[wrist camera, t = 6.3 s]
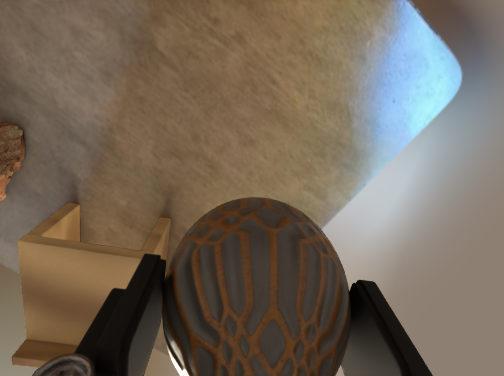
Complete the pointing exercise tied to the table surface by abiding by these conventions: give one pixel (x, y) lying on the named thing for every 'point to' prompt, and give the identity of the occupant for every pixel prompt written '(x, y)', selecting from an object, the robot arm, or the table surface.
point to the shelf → (70, 282)
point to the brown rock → (10, 153)
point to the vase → (256, 295)
